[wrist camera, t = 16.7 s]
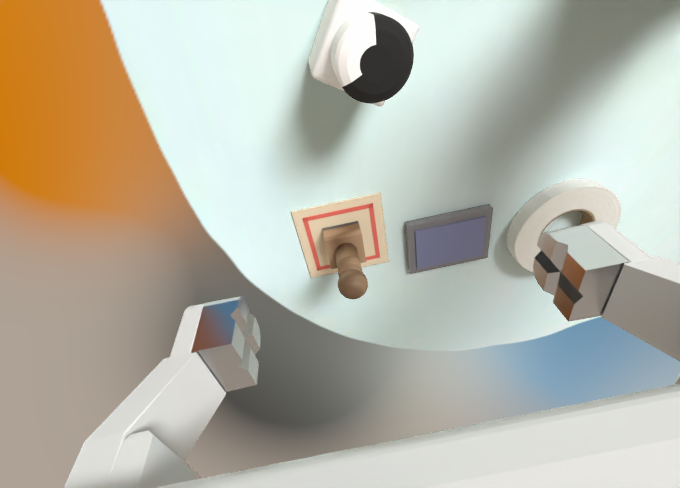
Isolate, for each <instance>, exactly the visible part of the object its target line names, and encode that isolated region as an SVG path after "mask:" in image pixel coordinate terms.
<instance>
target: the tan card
mask: <svg viewBox="0 0 680 488" xmlns="http://www.w3.org/2000/svg"><path fill="white" fill-rule="evenodd" d="M291 213H292V216H293V220H294V223H295V226H296V229H297V233H298V236H299V239H300V242H301V246H302V249H303V252H304V255H305V259H306V262H307V265H308V269H309V272H310V275H311V278H313V277H317V276H322V275H327V274H332V273H336V272H338V268H335V269H331V266H330V262H329V258H328V254H327V250H326V246H325V242H324V236H323V229H322V228H326V227H331V226H336V225H341V224H345V223H350V222H355V221H358V222H359V226H360V229H361V233H362V238H363V244H364V251H365V257H366V262H363V263H360V264H361V267H365V266H370V265H375V264H379V263H384V262H389V260H388V252H387V243H386V234H385V226H384V217H383V209H382V200H381V193H377V194H372V195H367V196H363V197H358V198H353V199H348V200H344V201H339V202H334V203H330V204H325V205H320V206H315V207H311V208H306V209H301V210H297V211H292V212H291Z"/></svg>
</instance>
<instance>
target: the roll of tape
mask: <svg viewBox="0 0 680 488" xmlns="http://www.w3.org/2000/svg"><path fill="white" fill-rule="evenodd" d="M571 211H582V212H583V217H582V221H581V223H580V225H581V224H585V223H590V222H594V221H599V220H601V221H604V222H607V223H608V224H610V225H611V226H612V227H613V228H615V229H616V227H617V225H618V223H619V219H620V214H621V207H620V202H619V200H618V198H617V197H616V196H615V195H614V193H612V192H611V191H610V190H608V189H606V188H605V187H603V186H602V185H600V184H599V183H597V182H595V181H592V180H588V179H572V180H567V181H563V182H560V183H557V184H554V185H552V186H550V187H548V188H546V189H544V190H542V191H541V192H539V193H538V194H536V195H535V196H534V197H532V198H531V199H530V200H529V201H528V202H526V203H525V204H524V205H523V206H522V208H521V209H520V210H519V211H518V212H517V214H516V215H515V217H514V218H513V220H512V222H511V224H510V226H509V229H508V232H507V236H506V244H507V248H508V250H509V252H510V254H511V255H512V256H513V257H514V259H515V260H516V261H517V262H518V263H519V265H520V266H521V267H523V268H524V269H526V270H527V271H529V272H532V273H534V270H533V264H534V258H535V257H536V255H537V254H538V253H539V252H540V251H541V249H540V248H539V247H538V246H537V243H538V239H539V237H540V235H541V234H542V233H543V231H544V229H545V228H546V227H547V226H548V225H549V224H550V223H551V222H552V221H553V220H554V219H556V218H557V217H559V216H561V215H563V214H565V213H568V212H571Z"/></svg>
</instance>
